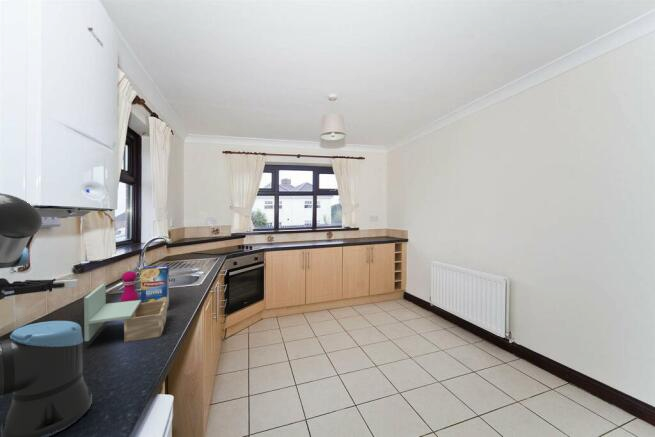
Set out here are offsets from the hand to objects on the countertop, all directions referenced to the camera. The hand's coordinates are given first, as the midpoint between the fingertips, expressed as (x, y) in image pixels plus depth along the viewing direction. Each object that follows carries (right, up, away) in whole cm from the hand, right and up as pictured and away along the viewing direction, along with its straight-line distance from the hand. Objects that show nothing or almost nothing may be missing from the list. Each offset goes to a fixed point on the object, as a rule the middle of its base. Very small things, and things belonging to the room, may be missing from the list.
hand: (76, 283), depth 100 cm
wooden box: (+20, -22, +10) cm, 32 cm away
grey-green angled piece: (+11, -19, +6) cm, 23 cm away
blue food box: (+10, -22, +31) cm, 39 cm away
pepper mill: (-6, -21, +35) cm, 41 cm away
